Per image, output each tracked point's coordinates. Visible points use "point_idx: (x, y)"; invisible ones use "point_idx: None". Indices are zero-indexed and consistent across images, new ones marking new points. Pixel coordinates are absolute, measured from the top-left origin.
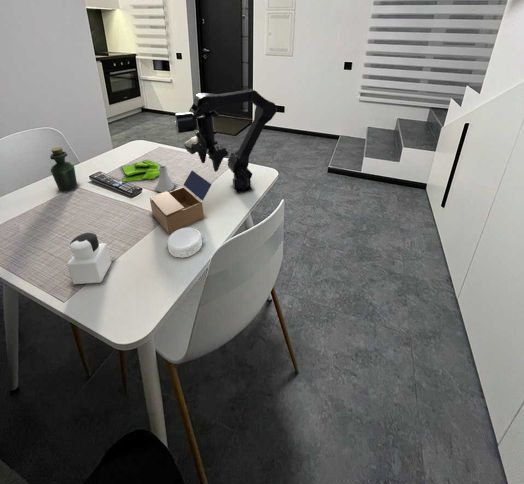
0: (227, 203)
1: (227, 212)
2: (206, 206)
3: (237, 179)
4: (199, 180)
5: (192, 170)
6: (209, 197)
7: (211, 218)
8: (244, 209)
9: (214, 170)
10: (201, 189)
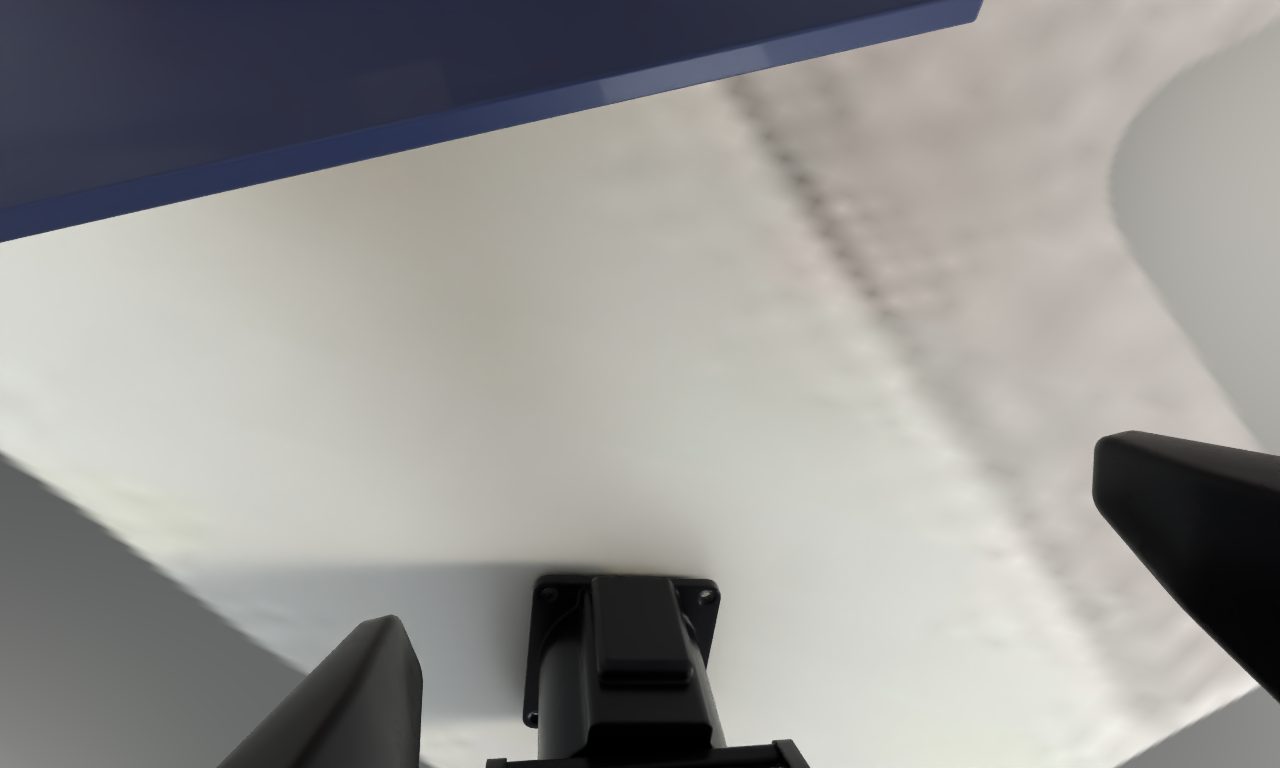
0: (373, 411)
1: (165, 348)
2: None
3: (586, 719)
4: (299, 53)
5: (970, 15)
6: (615, 251)
7: None
8: (168, 539)
9: (361, 637)
10: (23, 8)
